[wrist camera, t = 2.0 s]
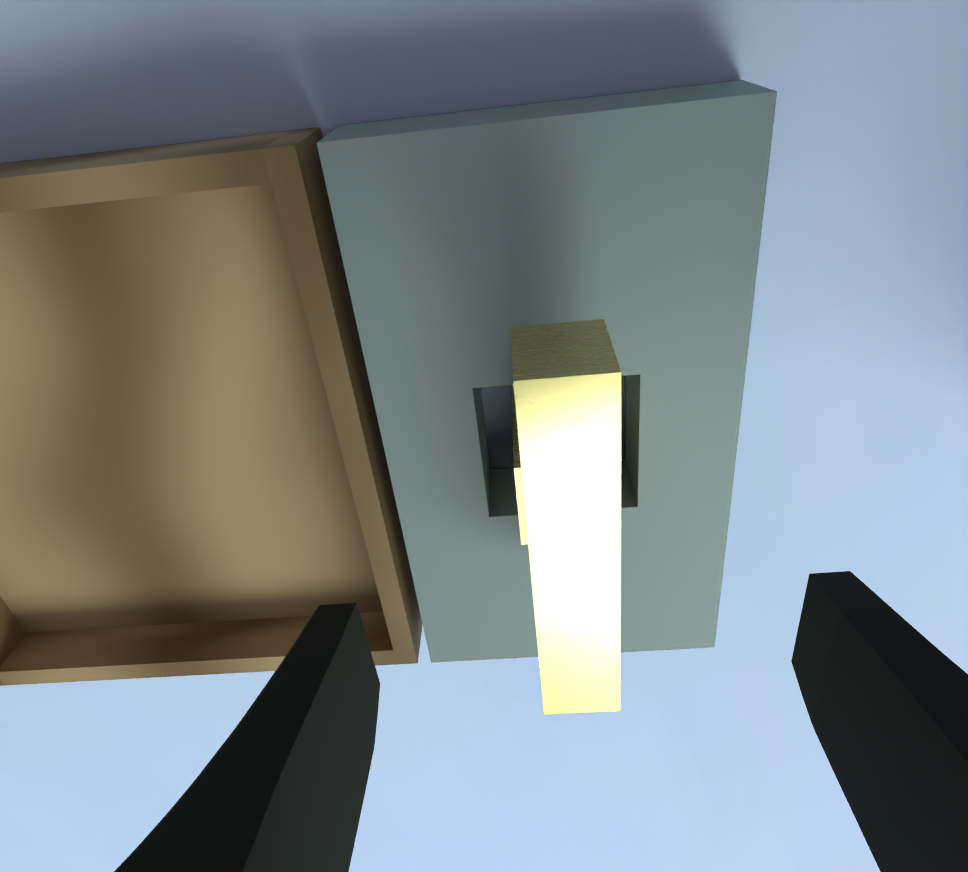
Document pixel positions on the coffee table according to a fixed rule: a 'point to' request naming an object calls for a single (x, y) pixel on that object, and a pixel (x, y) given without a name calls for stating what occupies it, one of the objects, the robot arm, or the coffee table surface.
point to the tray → (185, 418)
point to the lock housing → (556, 299)
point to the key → (571, 506)
